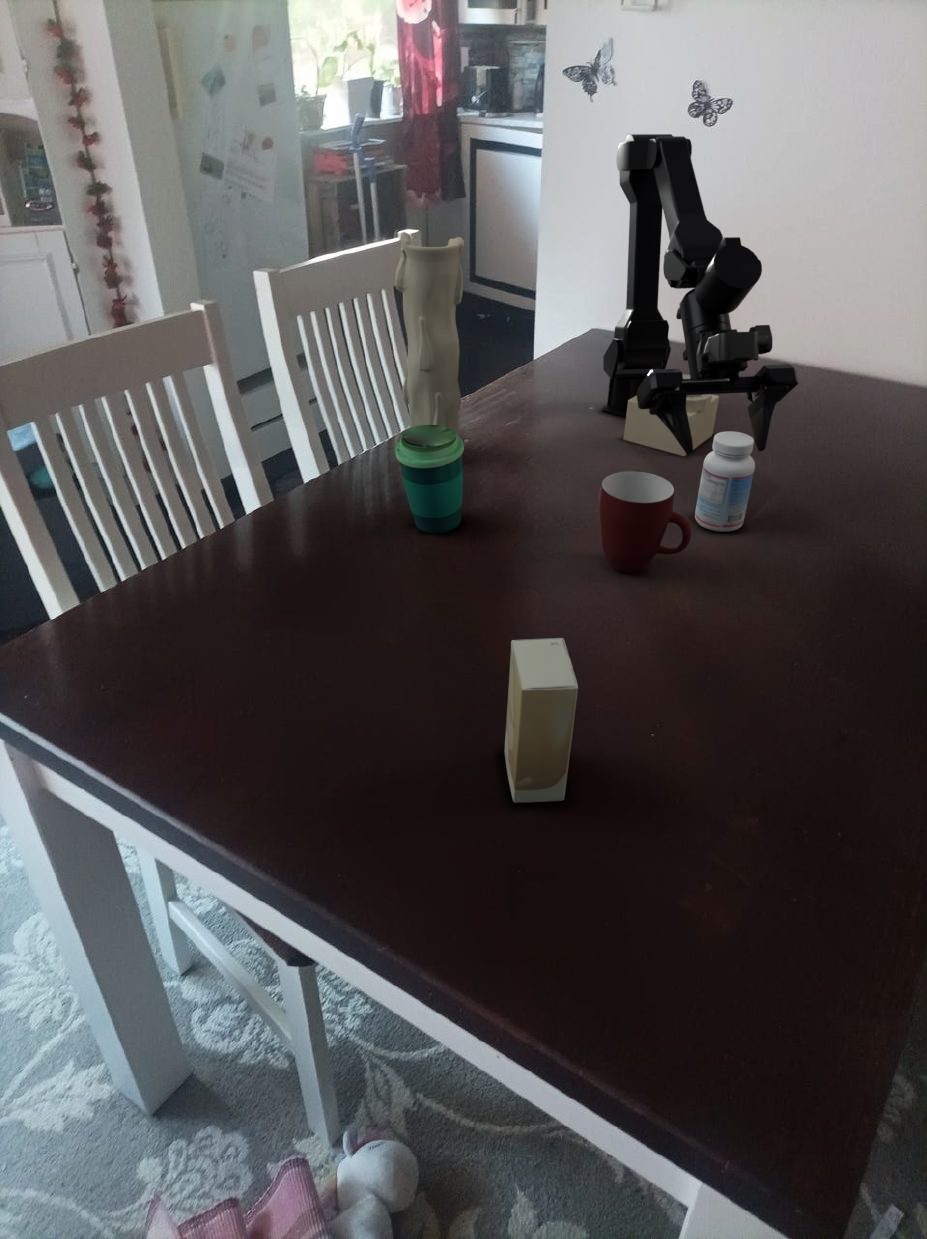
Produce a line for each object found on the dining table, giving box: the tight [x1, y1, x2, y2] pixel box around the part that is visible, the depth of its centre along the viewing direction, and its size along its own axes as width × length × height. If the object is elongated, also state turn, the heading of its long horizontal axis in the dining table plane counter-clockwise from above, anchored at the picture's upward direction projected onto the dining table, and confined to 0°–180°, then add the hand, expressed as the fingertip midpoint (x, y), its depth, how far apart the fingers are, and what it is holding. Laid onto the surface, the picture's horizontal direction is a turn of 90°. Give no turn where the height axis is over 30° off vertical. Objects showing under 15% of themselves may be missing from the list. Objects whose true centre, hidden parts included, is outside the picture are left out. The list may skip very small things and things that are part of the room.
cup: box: [395, 425, 465, 535], centre depth 105 cm, size 8×8×12 cm
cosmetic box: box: [504, 637, 579, 804], centre depth 69 cm, size 6×4×12 cm
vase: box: [394, 231, 465, 436], centre depth 117 cm, size 9×8×30 cm
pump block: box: [623, 394, 720, 457], centre depth 130 cm, size 11×10×8 cm
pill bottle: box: [694, 430, 756, 533], centre depth 107 cm, size 6×6×11 cm
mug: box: [598, 470, 692, 574], centre depth 98 cm, size 10×8×10 cm
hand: (726, 451), depth 106 cm, fingers open, 9 cm apart
